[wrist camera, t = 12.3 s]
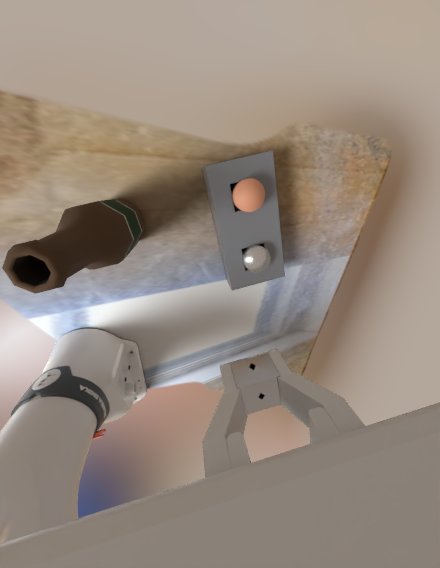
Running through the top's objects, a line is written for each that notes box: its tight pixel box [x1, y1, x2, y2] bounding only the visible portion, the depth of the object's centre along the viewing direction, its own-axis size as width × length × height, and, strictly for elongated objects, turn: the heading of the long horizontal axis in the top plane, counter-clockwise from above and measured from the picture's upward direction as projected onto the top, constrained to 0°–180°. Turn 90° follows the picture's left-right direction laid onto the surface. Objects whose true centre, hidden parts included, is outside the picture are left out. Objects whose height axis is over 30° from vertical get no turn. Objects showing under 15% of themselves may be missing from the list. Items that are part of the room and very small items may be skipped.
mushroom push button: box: [232, 178, 265, 212], centre depth 33 cm, size 4×4×6 cm
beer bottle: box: [3, 199, 145, 293], centre depth 25 cm, size 8×8×24 cm
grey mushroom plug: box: [242, 245, 271, 273], centre depth 38 cm, size 4×4×6 cm
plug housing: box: [202, 150, 285, 290], centre depth 37 cm, size 20×10×5 cm, turn 12°
